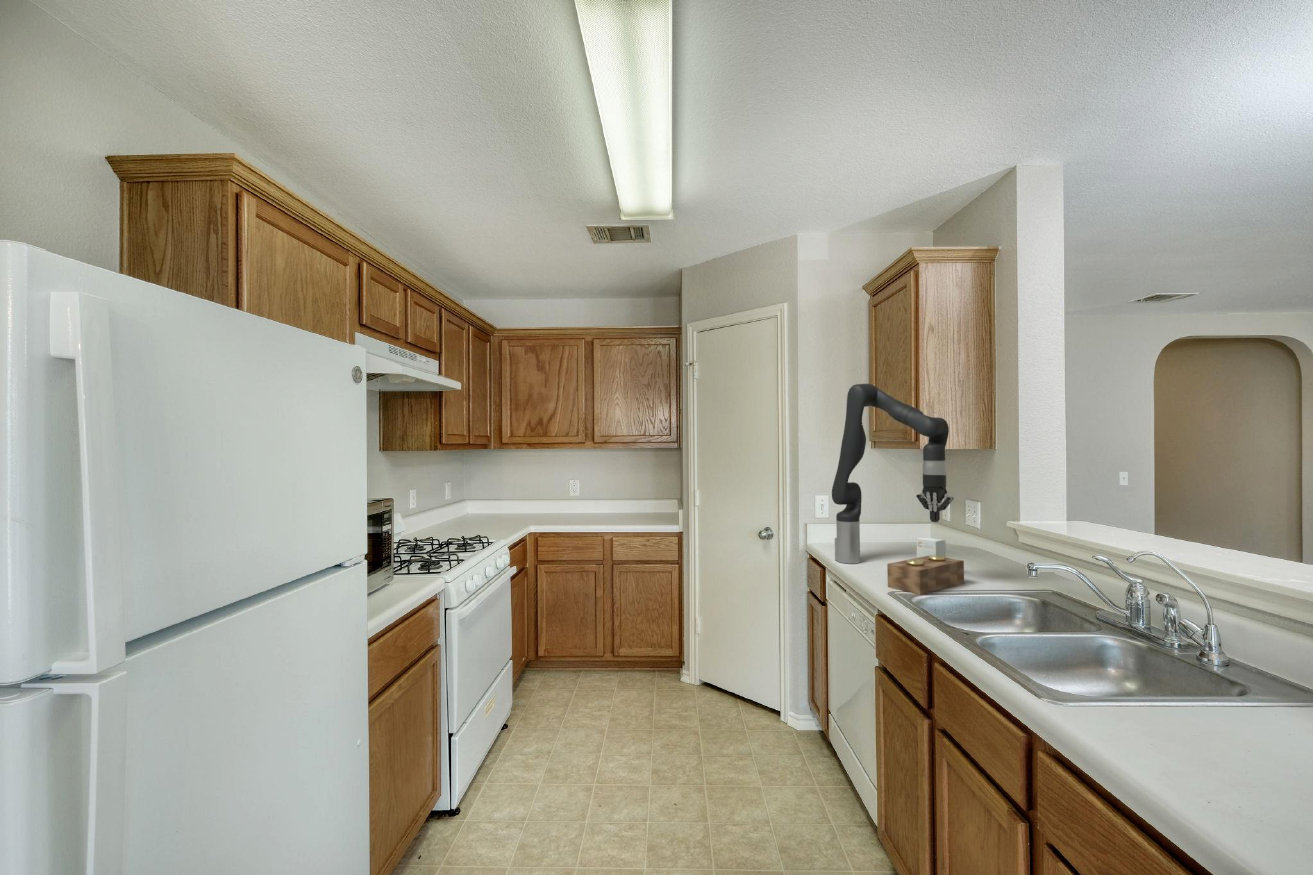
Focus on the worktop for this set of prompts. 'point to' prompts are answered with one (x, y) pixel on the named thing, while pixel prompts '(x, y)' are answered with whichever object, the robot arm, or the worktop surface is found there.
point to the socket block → (925, 575)
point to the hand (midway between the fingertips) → (934, 521)
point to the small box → (930, 547)
